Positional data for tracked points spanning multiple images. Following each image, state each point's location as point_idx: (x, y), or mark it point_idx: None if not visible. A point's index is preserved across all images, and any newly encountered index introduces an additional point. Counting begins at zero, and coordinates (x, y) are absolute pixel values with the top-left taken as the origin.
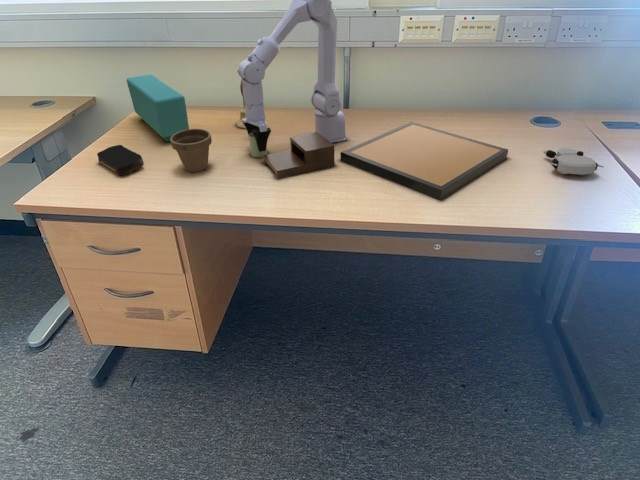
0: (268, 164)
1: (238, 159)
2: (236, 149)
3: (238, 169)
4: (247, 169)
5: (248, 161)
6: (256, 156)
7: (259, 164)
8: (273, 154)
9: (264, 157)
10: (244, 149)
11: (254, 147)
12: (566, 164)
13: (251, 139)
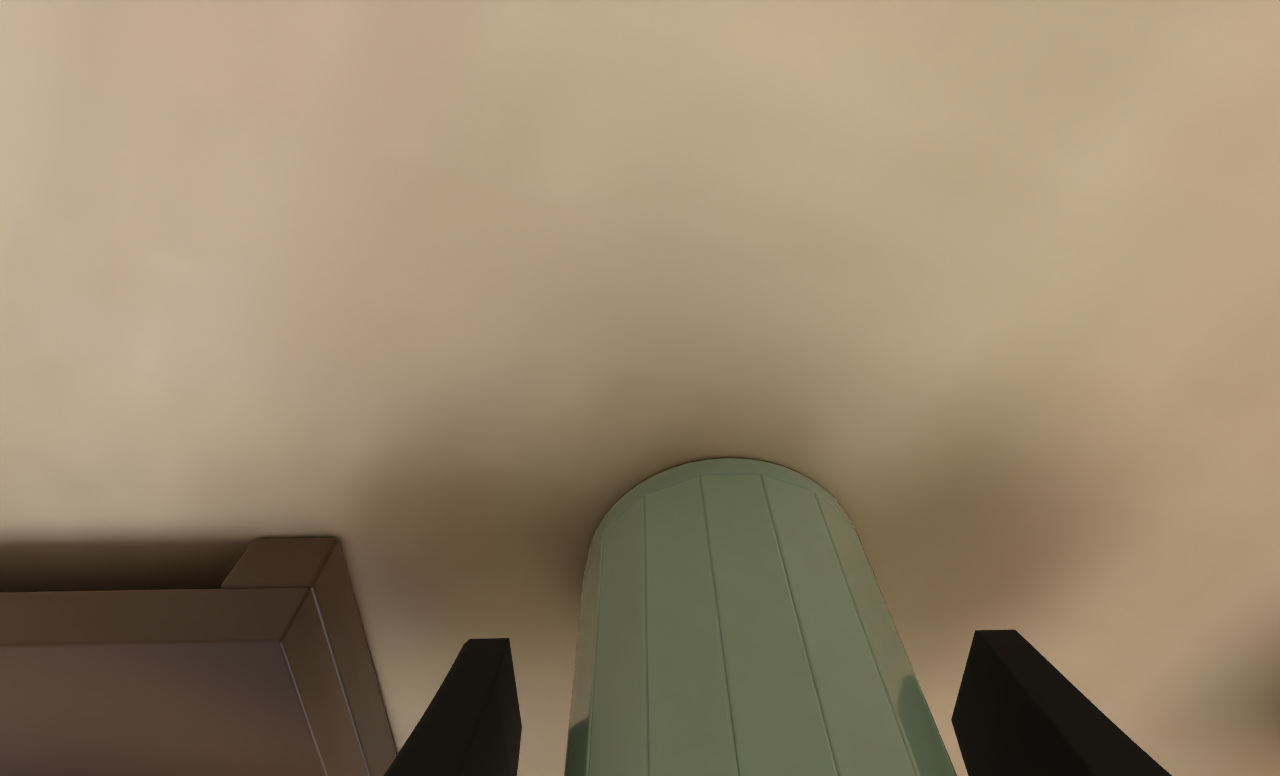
0: (14, 599)
1: (678, 195)
2: (1185, 294)
3: (156, 48)
4: (126, 229)
5: (499, 345)
6: (611, 516)
7: (307, 470)
8: (276, 771)
9: (185, 638)
10: (1069, 424)
11: (619, 632)
12: None
13: (679, 773)
